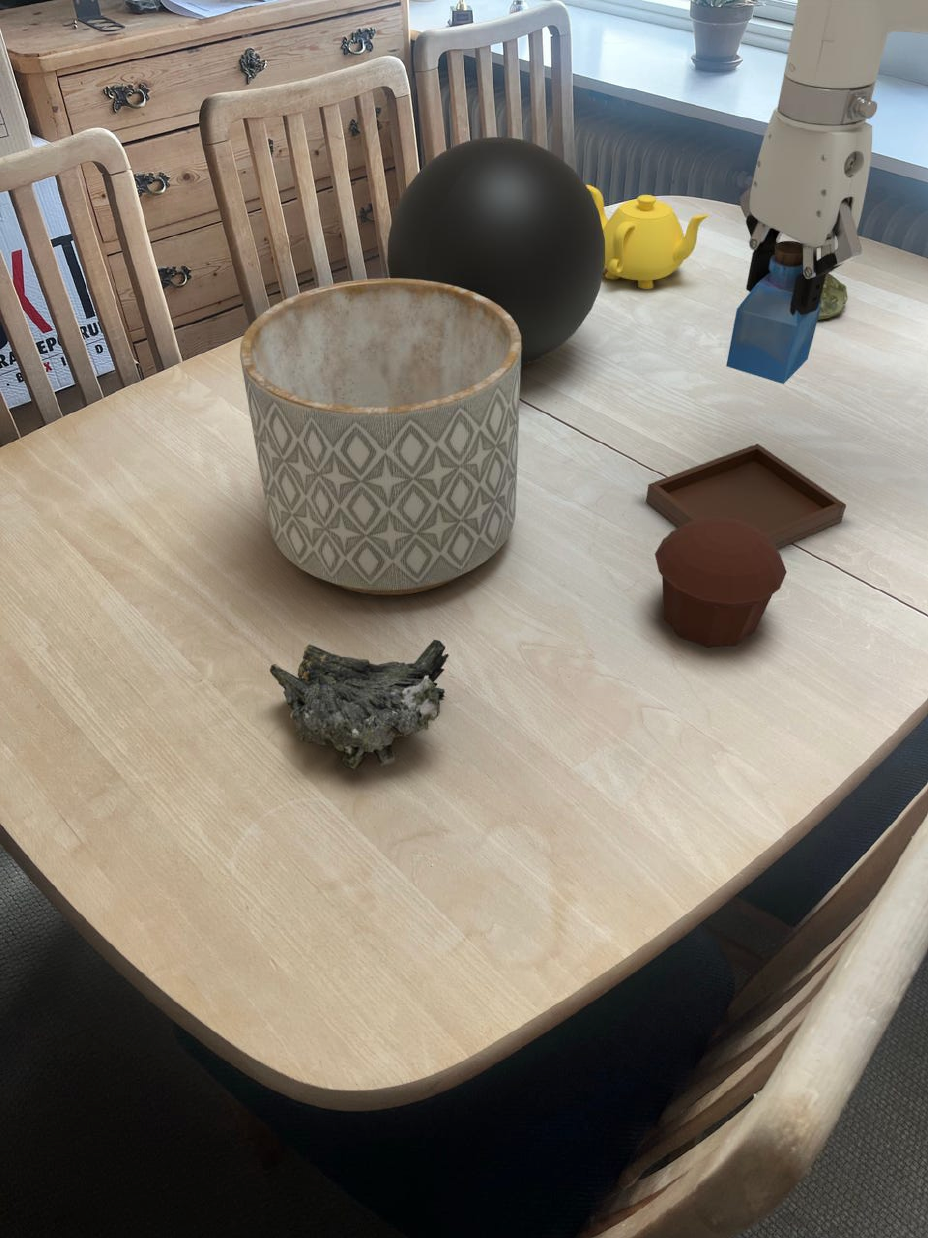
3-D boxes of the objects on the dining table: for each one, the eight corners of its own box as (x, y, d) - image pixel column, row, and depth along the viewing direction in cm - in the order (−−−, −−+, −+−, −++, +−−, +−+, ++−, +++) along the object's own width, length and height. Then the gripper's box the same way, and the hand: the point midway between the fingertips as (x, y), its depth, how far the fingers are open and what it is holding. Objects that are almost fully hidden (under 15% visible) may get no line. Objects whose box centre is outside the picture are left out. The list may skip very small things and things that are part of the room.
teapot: (552, 276, 152) (556, 199, 145) (603, 243, 161) (609, 169, 153) (671, 312, 144) (682, 232, 136) (717, 275, 152) (731, 198, 144)
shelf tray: (753, 460, 116) (757, 443, 115) (841, 522, 108) (846, 504, 106) (645, 501, 111) (648, 484, 109) (729, 570, 102) (732, 552, 100)
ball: (603, 317, 143) (622, 111, 124) (586, 417, 123) (606, 191, 105) (416, 303, 146) (408, 101, 128) (372, 399, 127) (354, 177, 108)
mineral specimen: (450, 613, 90) (412, 583, 80) (478, 754, 86) (443, 739, 77) (297, 656, 93) (244, 632, 84) (318, 793, 89) (265, 784, 80)
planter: (484, 451, 118) (485, 266, 103) (542, 592, 100) (555, 392, 85) (264, 479, 114) (232, 291, 99) (283, 631, 96) (248, 429, 81)
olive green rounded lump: (794, 315, 139) (791, 243, 139) (763, 331, 146) (760, 263, 146) (856, 320, 142) (853, 249, 142) (823, 336, 149) (820, 269, 149)
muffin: (772, 587, 100) (794, 505, 93) (771, 665, 92) (795, 582, 85) (651, 570, 102) (664, 489, 95) (640, 645, 94) (653, 562, 87)
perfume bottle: (807, 358, 104) (836, 244, 96) (783, 384, 100) (810, 267, 92) (751, 342, 107) (774, 229, 99) (726, 366, 103) (747, 250, 95)
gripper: (934, 120, 82) (874, 326, 95) (788, 69, 93) (751, 260, 106) (866, 135, 80) (814, 346, 92) (724, 81, 91) (694, 276, 103)
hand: (781, 298), depth 99 cm, fingers closed on perfume bottle, 5 cm apart
